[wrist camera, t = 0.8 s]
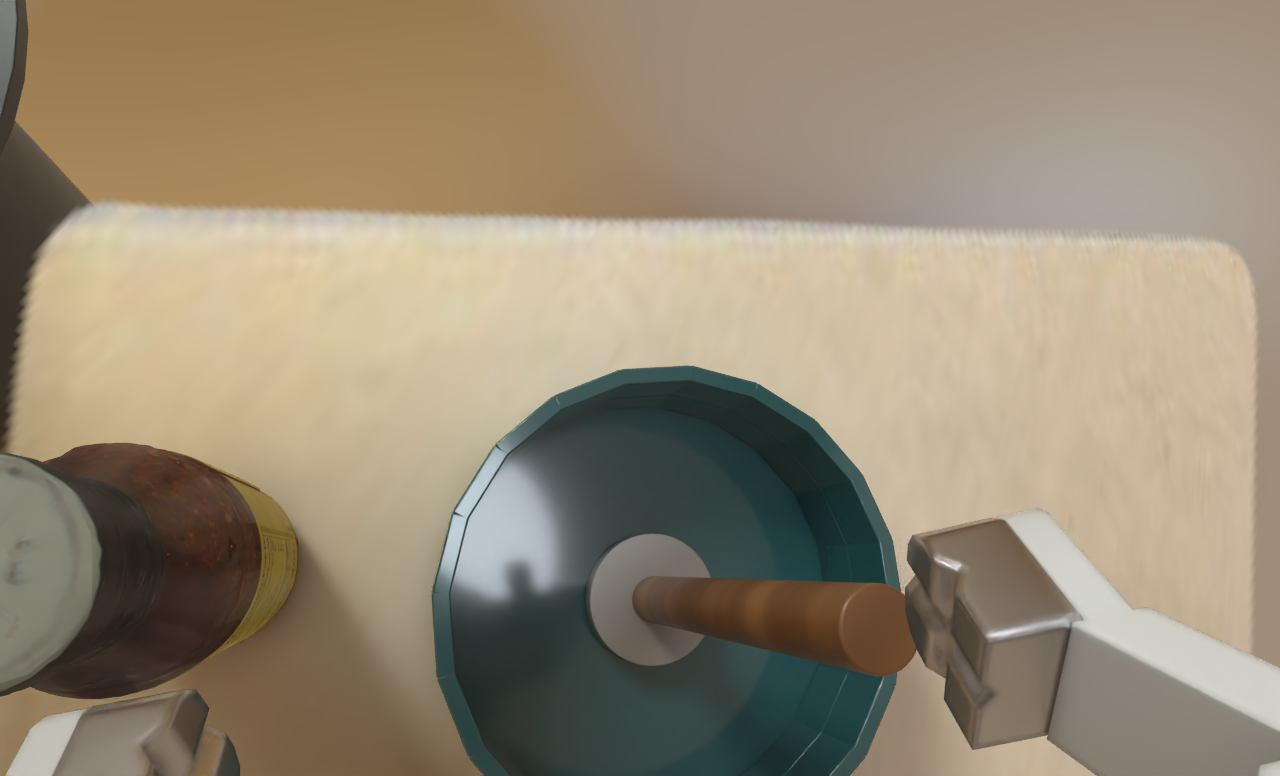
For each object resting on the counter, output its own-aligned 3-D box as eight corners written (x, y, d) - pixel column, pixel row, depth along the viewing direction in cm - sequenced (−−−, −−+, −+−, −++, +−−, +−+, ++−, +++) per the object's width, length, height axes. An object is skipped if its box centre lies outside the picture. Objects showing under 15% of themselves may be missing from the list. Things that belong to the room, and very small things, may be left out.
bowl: (344, 686, 32) (326, 712, 27) (571, 324, 37) (597, 280, 32) (721, 897, 34) (779, 963, 28) (889, 523, 39) (968, 516, 33)
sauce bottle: (86, 579, 31) (-449, 597, 12) (212, 447, 33) (-81, 284, 14) (231, 687, 31) (-69, 868, 12) (346, 551, 33) (238, 528, 14)
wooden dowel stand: (561, 623, 34) (712, 686, 16) (623, 511, 36) (827, 451, 17) (669, 686, 35) (937, 819, 16) (726, 573, 36) (1030, 578, 18)
